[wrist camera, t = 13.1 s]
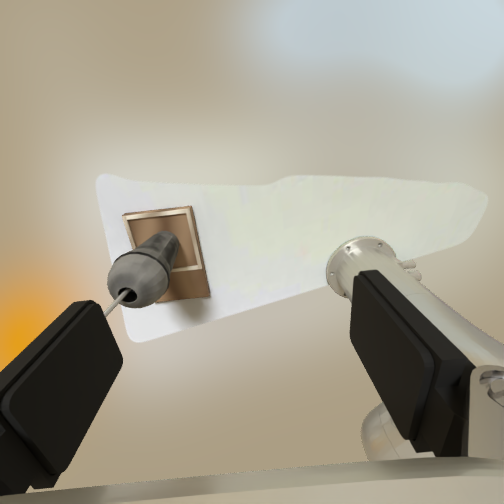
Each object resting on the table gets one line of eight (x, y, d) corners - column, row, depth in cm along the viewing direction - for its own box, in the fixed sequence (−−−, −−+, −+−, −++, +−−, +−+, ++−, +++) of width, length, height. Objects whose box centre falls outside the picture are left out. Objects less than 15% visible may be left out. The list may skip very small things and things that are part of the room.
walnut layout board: (191, 205, 41) (189, 208, 40) (209, 292, 48) (208, 297, 47) (125, 213, 41) (121, 216, 40) (153, 298, 48) (150, 303, 47)
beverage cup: (193, 258, 44) (156, 344, 25) (152, 266, 44) (88, 355, 26) (180, 218, 41) (129, 283, 22) (137, 227, 41) (52, 297, 23)
